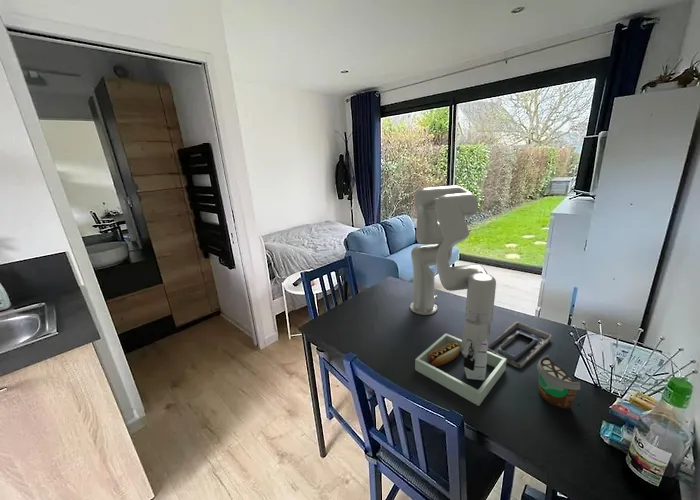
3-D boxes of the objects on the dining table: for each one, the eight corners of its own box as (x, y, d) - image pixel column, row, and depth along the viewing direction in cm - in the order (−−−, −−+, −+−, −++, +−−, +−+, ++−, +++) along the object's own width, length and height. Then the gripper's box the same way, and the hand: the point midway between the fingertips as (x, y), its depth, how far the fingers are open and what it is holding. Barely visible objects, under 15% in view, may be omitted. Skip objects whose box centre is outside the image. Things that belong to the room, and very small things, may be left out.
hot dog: (463, 357, 104) (464, 345, 102) (436, 372, 98) (437, 360, 96) (452, 350, 108) (453, 338, 106) (426, 364, 102) (426, 352, 100)
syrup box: (485, 380, 91) (489, 342, 86) (465, 379, 92) (468, 340, 87) (481, 368, 96) (485, 330, 91) (462, 366, 97) (465, 329, 93)
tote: (445, 343, 112) (445, 333, 110) (505, 370, 96) (506, 358, 95) (415, 369, 99) (415, 359, 98) (478, 406, 84) (479, 393, 82)
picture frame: (551, 341, 109) (552, 334, 108) (521, 372, 95) (522, 365, 95) (515, 327, 120) (515, 320, 119) (483, 353, 106) (483, 346, 105)
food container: (524, 382, 91) (528, 355, 88) (542, 380, 91) (547, 353, 88) (553, 415, 79) (559, 386, 76) (575, 412, 79) (581, 383, 76)
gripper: (479, 299, 95) (475, 343, 101) (453, 321, 84) (450, 369, 90) (503, 306, 90) (498, 353, 95) (478, 331, 79) (474, 382, 84)
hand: (475, 361), depth 92 cm, fingers closed on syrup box, 8 cm apart
